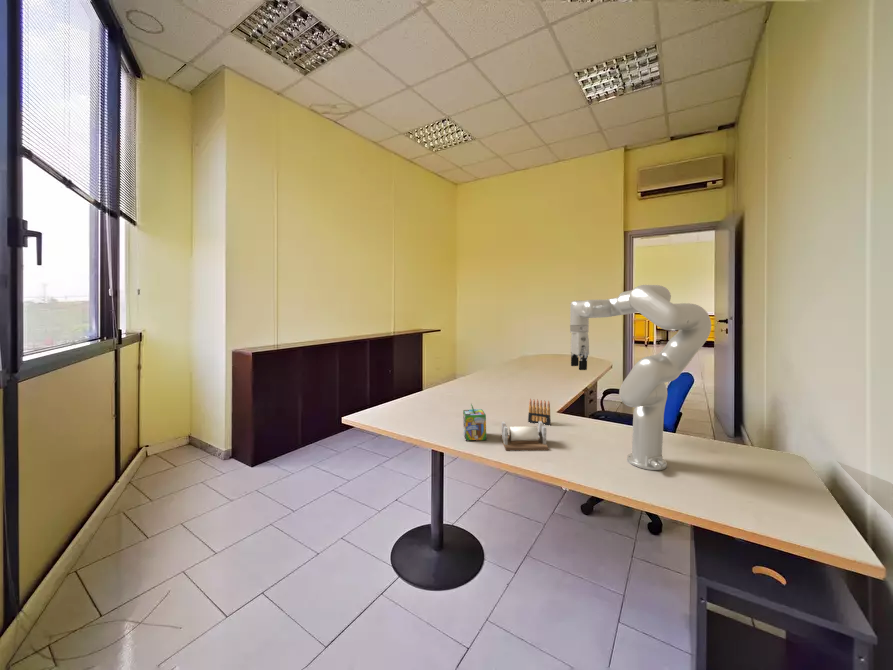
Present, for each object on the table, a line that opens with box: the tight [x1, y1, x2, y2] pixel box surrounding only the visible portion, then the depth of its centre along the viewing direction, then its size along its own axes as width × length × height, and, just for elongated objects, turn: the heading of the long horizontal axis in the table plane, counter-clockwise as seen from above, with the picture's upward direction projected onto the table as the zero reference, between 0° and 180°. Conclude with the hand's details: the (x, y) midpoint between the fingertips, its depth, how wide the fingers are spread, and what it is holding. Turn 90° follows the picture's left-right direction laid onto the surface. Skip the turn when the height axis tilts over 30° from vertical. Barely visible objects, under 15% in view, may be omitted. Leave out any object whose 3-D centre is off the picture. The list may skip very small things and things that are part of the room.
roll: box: [508, 425, 538, 441], centre depth 147 cm, size 6×11×6 cm, turn 89°
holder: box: [500, 421, 549, 452], centre depth 147 cm, size 14×17×8 cm
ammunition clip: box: [527, 398, 552, 426], centre depth 172 cm, size 11×2×12 cm, turn 62°
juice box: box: [462, 403, 487, 441], centre depth 155 cm, size 9×9×15 cm
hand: (578, 367), depth 153 cm, fingers open, 9 cm apart
